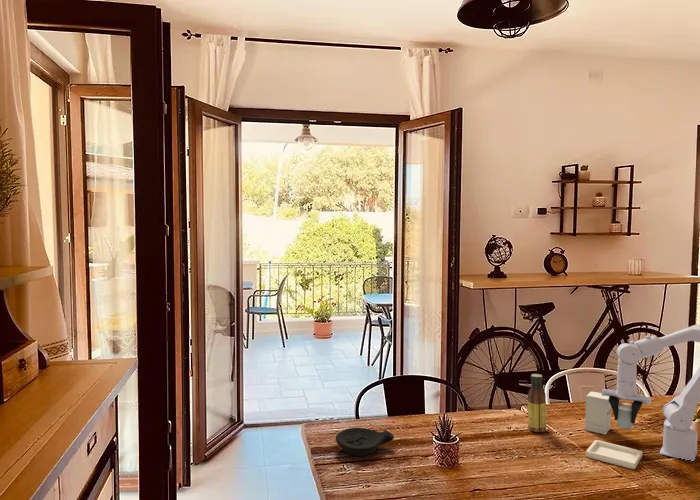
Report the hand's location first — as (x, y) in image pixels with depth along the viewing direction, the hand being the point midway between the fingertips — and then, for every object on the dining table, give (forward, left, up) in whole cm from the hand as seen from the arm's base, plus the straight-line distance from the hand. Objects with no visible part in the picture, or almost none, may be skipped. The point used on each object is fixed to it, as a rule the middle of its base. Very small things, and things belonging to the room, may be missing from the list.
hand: (624, 421), depth 179 cm
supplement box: (+11, -12, -9) cm, 18 cm away
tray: (+1, +10, -9) cm, 13 cm away
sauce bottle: (+28, +3, -9) cm, 30 cm away
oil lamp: (+64, +57, -9) cm, 87 cm away
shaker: (0, 0, -2) cm, 2 cm away
